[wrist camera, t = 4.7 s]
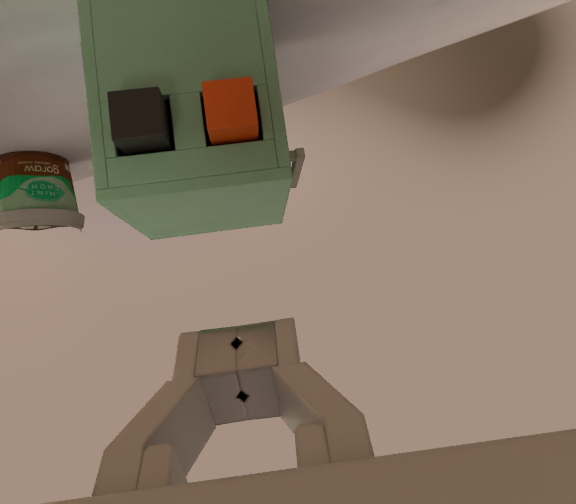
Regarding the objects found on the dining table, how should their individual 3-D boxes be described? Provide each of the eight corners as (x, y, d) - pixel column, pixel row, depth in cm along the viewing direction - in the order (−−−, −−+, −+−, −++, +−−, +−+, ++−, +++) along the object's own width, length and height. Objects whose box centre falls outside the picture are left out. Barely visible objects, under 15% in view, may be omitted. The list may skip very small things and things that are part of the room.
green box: (71, -55, 31) (95, 202, 29) (276, -72, 32) (313, 176, 30) (132, 64, 46) (151, 240, 44) (271, 50, 47) (296, 221, 45)
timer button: (106, 91, 28) (111, 140, 28) (158, 85, 29) (164, 134, 28) (121, 112, 31) (125, 157, 31) (168, 107, 32) (173, 151, 31)
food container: (84, 149, 66) (91, 222, 64) (79, 164, 71) (85, 232, 70) (-25, 146, 59) (-19, 226, 58) (-21, 162, 65) (-16, 236, 64)
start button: (201, 81, 29) (207, 129, 28) (251, 76, 29) (258, 123, 29) (206, 103, 32) (212, 147, 31) (252, 98, 32) (258, 141, 32)
